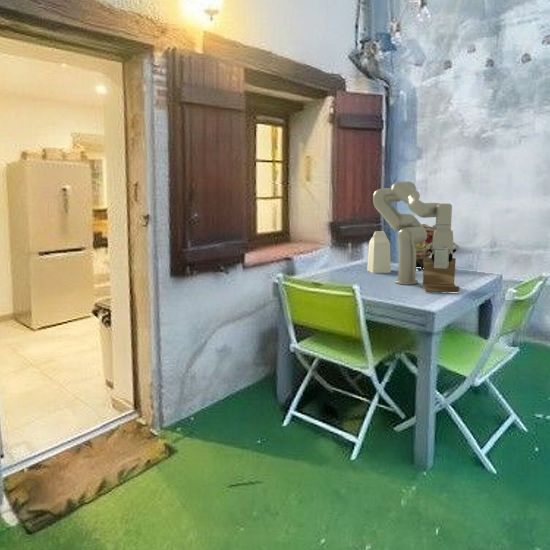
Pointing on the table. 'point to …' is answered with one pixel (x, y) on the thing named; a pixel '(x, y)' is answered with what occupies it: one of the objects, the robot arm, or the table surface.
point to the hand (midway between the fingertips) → (441, 261)
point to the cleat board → (439, 277)
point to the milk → (379, 254)
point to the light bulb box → (441, 257)
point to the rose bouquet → (424, 247)
